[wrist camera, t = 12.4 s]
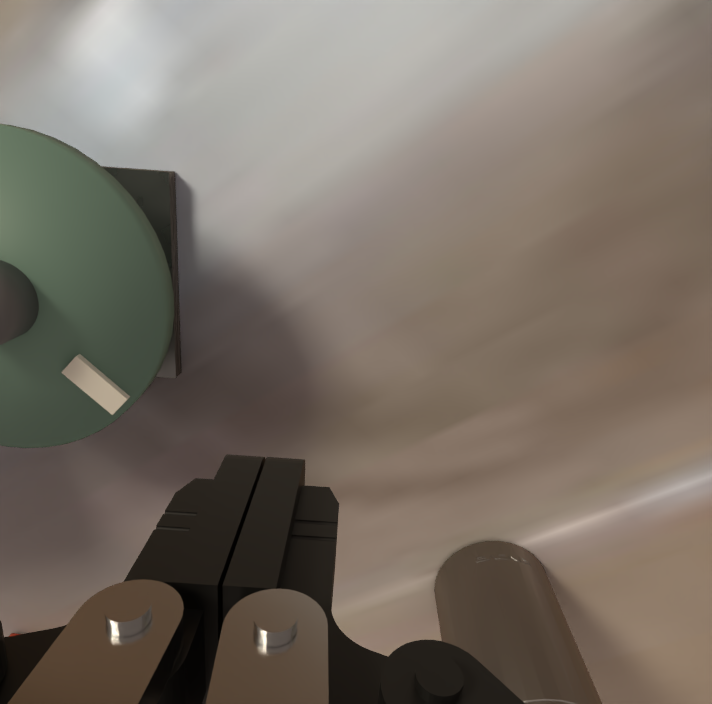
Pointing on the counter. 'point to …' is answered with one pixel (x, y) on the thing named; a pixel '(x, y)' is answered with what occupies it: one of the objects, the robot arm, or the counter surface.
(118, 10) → the counter surface
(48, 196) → the handwheel
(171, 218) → the pedestal
